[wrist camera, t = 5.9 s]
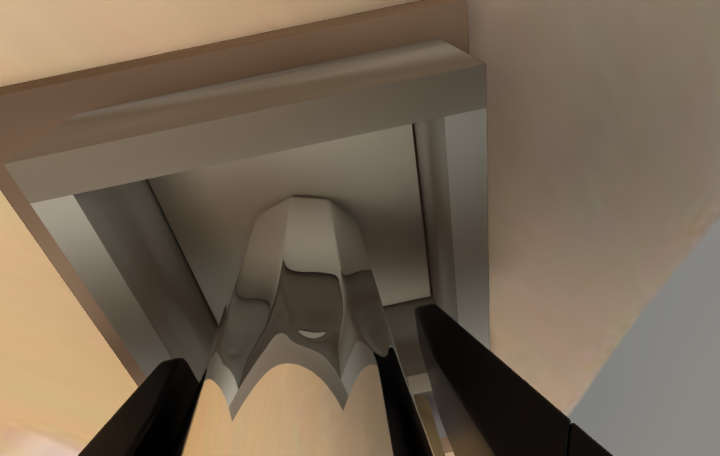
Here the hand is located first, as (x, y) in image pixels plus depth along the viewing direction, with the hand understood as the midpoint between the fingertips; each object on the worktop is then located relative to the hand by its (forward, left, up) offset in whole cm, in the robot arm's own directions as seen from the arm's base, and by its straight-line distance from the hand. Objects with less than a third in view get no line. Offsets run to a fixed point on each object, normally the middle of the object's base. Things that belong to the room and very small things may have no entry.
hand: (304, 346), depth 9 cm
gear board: (-4, +1, -6) cm, 7 cm away
